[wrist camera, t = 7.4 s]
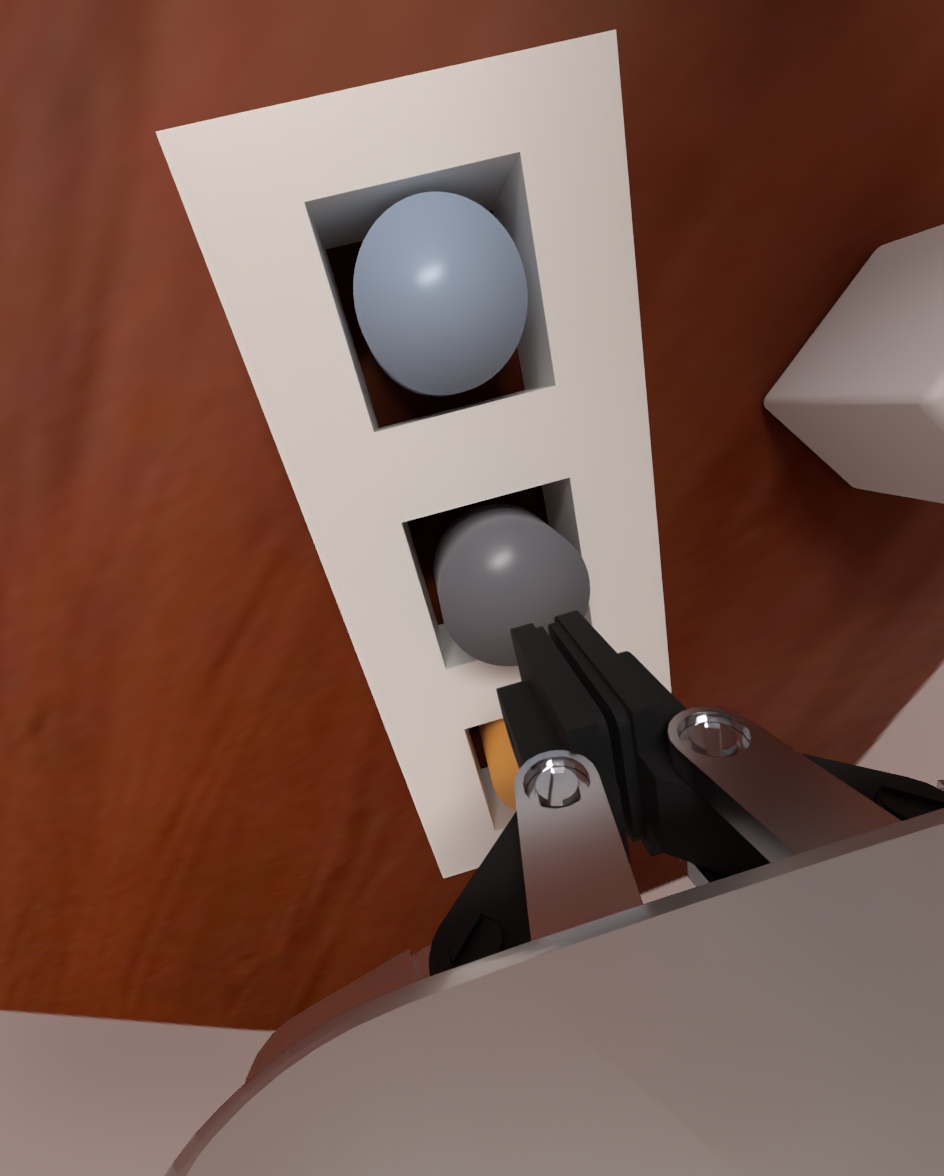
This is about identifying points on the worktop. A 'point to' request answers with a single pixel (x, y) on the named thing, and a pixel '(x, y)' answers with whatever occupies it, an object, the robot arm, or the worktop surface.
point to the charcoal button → (505, 579)
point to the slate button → (440, 293)
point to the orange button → (500, 760)
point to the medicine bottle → (877, 375)
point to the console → (461, 435)
